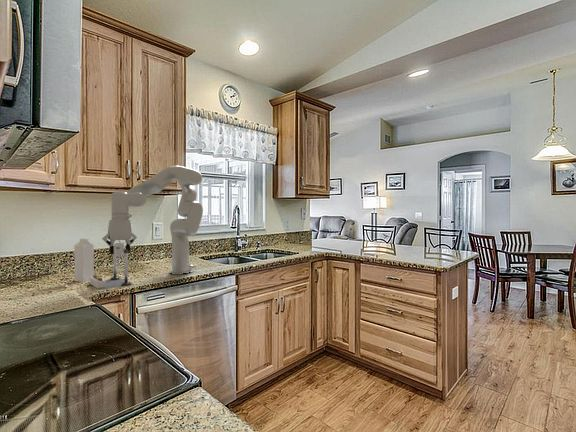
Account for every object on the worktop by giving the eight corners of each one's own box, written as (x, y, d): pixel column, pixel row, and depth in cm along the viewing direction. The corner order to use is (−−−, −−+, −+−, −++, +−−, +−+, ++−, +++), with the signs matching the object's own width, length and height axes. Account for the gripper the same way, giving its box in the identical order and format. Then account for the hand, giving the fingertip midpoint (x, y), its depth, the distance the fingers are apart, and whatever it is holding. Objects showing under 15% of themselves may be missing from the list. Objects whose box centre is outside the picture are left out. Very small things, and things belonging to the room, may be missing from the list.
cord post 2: (129, 283, 158) (129, 248, 158) (132, 285, 155) (131, 249, 155) (120, 284, 155) (120, 249, 155) (123, 286, 152) (122, 250, 152)
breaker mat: (120, 279, 171) (120, 270, 171) (134, 286, 156) (134, 276, 156) (87, 284, 161) (87, 274, 161) (99, 292, 146) (99, 281, 145)
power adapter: (115, 253, 165) (115, 241, 165) (126, 253, 167) (126, 241, 167) (112, 256, 155) (112, 244, 155) (123, 255, 156) (123, 243, 156)
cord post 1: (118, 278, 170) (117, 245, 170) (120, 279, 168) (120, 246, 167) (109, 279, 168) (109, 246, 167) (111, 280, 165) (111, 246, 164)
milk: (85, 280, 169) (85, 238, 169) (94, 281, 167) (94, 238, 166) (74, 283, 163) (74, 239, 163) (82, 284, 161) (82, 239, 161)
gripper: (135, 216, 169) (135, 251, 170) (98, 217, 157) (98, 254, 158) (141, 217, 164) (140, 252, 164) (102, 217, 152) (102, 255, 152)
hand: (119, 253), depth 161 cm, fingers closed on power adapter, 6 cm apart
